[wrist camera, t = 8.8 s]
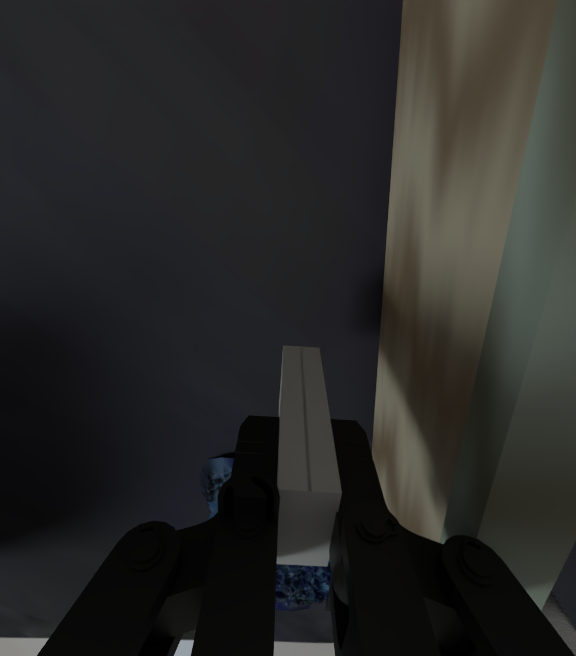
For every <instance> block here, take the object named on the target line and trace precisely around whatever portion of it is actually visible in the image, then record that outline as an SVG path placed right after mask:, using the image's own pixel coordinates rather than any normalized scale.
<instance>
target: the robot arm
mask: <svg viewBox="0 0 576 656" xmlns="http://www.w3.org/2000/svg"><path fill="white" fill-rule="evenodd" d="M217 497H218V512H217V513H216V514H215V515H214V516H213V517H212V518H210V519H209V520H207V521H206V522H203V523H201V524H198V525H195V526H192V527H188V528H184V529H181V530H177V531H176V530H175V528H174V527H172V526H171V525H169V524H167V523H166V522H159V521H151V522H147V523H143V524H140V525H138V526H136V527H135V528H133V529H131V530H130V531H128V532H127V533H126V534H125V535H124V536H123V537H122V538H121V539H120V540H119V542H118V543H117V544H116V545H115V547H114V548H113V550H112V551H111V552H110V554H109V555H108V557H107V558H106V559H105V561H104V562H103V564H102V565H101V566H100V568H99V569H98V571H97V572H96V573H95V575H94V576H93V578H92V579H91V580H90V582H89V583H88V585H87V586H86V588H85V589H84V590H83V592H82V593H81V595H80V596H79V597H78V599H77V600H76V602H75V603H74V604H73V606H72V607H71V609H70V610H69V611H68V613H67V614H66V616H65V617H64V618H63V620H62V621H61V623H60V624H59V625H58V627H57V628H56V630H55V631H54V632H53V634H52V635H51V637H50V638H49V639H48V641H47V642H46V644H45V645H44V646H43V648H42V649H41V651H40V652H39V653H38V655H37V656H174V654H175V651H176V649H177V647H178V644H179V642H180V640H181V638H182V635H183V633H186V632H189V631H191V630H194V629H196V633H195V638H194V643H193V648H192V653H191V656H273V653H274V624H275V596H276V568H277V564H285V565H305V566H328V561H329V556H330V566H331V576H332V577H331V582H330V586H329V591H328V596H327V602H326V611H330V610H331V616H332V627H333V638H334V648H335V656H575V655H574V654H573V652H572V651H571V650H570V648H569V647H568V646H567V644H566V643H565V642H564V640H563V639H562V638H561V636H560V635H559V634H558V632H557V631H556V630H555V628H554V627H553V626H552V624H551V623H550V622H549V621H548V619H547V618H546V617H545V615H544V614H543V613H542V611H541V610H540V609H539V607H538V606H537V605H536V603H535V602H534V601H533V599H532V598H531V597H530V595H529V594H528V593H527V592H526V590H525V589H524V588H523V586H522V585H521V584H520V582H519V581H518V580H517V578H516V577H515V576H514V574H513V573H512V572H511V570H510V569H509V568H508V566H507V565H506V564H505V562H504V561H503V560H502V559H501V558H500V557H499V556H498V555H497V554H496V552H495V551H494V550H493V549H492V548H490V547H489V546H487V545H486V544H484V543H483V542H481V541H480V540H478V539H475V538H473V537H470V536H467V535H454V536H452V537H450V538H448V539H446V541H445V543H444V544H441V543H439V542H436V541H433V540H430V539H428V538H425V537H422V536H419V535H417V534H415V533H413V532H411V531H409V530H407V529H406V528H405V527H403V526H402V525H400V524H399V522H398V520H397V518H396V517H395V516H394V515H393V514H392V513H391V512H390V511H389V510H388V508H387V505H386V503H385V499H384V496H383V492H382V489H381V485H380V482H379V478H378V474H377V471H376V467H375V464H374V460H373V457H372V453H371V450H370V448H369V442H368V439H367V435H366V432H365V431H364V430H363V429H362V427H361V426H360V425H359V424H358V422H357V421H354V420H337V419H330V414H329V408H328V401H327V395H326V388H325V382H324V376H323V369H322V363H321V357H320V350H319V348H313V347H297V346H283V356H282V371H281V385H280V400H279V417H267V416H248V417H247V418H246V420H245V421H244V422H243V423H242V425H241V426H240V430H239V435H238V441H237V445H236V450H235V456H234V461H233V466H232V471H231V477H230V478H229V479H228V480H227V481H226V482H225V483H224V484H223V485H222V486H221V489H220V491H219V493H218V495H217Z"/></svg>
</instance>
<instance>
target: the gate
mask: <svg viewBox="0 0 576 656" xmlns="http://www.w3.org/2000/svg"><path fill="white" fill-rule="evenodd" d="M372 457H373V460H374V464H375V467H376V471H377V474H378V478H379V482H380V485H381V489H382V492H383V496H384V499H385V503H386V505H387V508H388V510H389V511H390V512H391V513H392V514H393V515H394V516H395V517H396V518H397V520H398V522H399V524H400V525H402V526H403V527H405V528H406V529H407V530H409V531H411V532H413V533H415V534H417V535H419V536H422V537H425V538H428V539H430V540H433V541H436V542H439V543H441V544H444V543H445V541H446V539H448V538H450V537H452V536H454V535H467V536H470V537H473V538H475V539H478V540H480V541H481V542H483V543H484V544H486V545H487V546H489V547H490V548H492V549H493V550H494V551H495V552H496V554H497V555H498V556H499V557H500V558H501V559H502V560H503V561H504V562H505V564H506V565H507V566H508V568H509V569H510V570H511V572H512V573H513V574H514V576H515V577H516V578H517V580H518V581H519V582H520V584H521V585H522V586H523V588H524V589H525V590H526V592H527V593H528V594H529V595H530V597H531V598H532V599H533V601H534V602H535V603H536V605H537V606H538V607H539V609H540V610H542V608H543V606H544V604H545V602H546V600H547V598H548V596H549V594H550V592H551V590H552V588H553V586H554V584H555V582H556V580H557V578H558V576H559V574H560V572H561V570H562V568H563V566H564V563H565V561H566V559H567V557H568V555H569V553H570V551H571V549H572V547H573V545H574V543H575V541H576V0H403V11H402V26H401V40H400V54H399V69H398V83H397V98H396V112H395V126H394V141H393V155H392V170H391V184H390V198H389V213H388V227H387V242H386V256H385V270H384V285H383V299H382V314H381V328H380V342H379V357H378V371H377V386H376V400H375V414H374V429H373V443H372Z"/></svg>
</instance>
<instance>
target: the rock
mask: <svg viewBox="0 0 576 656" xmlns="http://www.w3.org/2000/svg"><path fill="white" fill-rule="evenodd" d="M233 461H234V458H223V457H221V458H215V459H212V458H209V461H208V463H207V464H206V466H205V467H204V469H202V473H201V486H202V492H203V494H204V497H205V500H206V502H207V505H208V507H209V509H210V510H211V515H210V517H209V518H208V519H207V520H209V519H210V518H212V517H213V516H214V515H215V514H216V513H217V512H218V497H217V495H218V493H219V491H220V489H221V486H222V485H223V484H224V483H225V482H226V481H227V480H228V479H229V478H230V477H231V471H232V466H233ZM330 569H331V566H330V556H329V561H328V566H305V565H285V564H277V568H276V596H275V610H288V611H296V610H302V609H309V608H310V605H311V604H312V603H315V602H316V603H322V602H323V600H324V599H325V600H326V601H327V596H328V591H329V586H328V584H329V583H330V579H331V575H329V574H331V571H330ZM323 580H324V581H325V582H326V583H325V582H323ZM324 595H325V596H324Z"/></svg>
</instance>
